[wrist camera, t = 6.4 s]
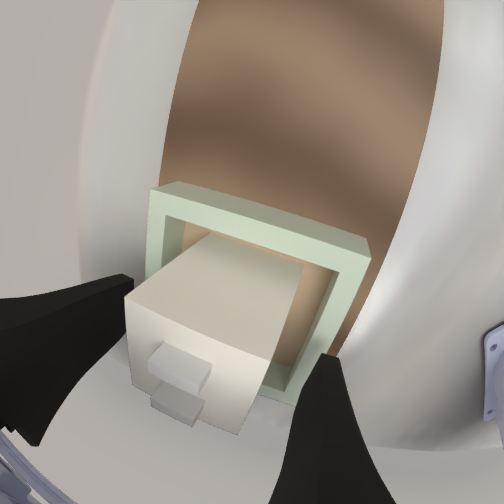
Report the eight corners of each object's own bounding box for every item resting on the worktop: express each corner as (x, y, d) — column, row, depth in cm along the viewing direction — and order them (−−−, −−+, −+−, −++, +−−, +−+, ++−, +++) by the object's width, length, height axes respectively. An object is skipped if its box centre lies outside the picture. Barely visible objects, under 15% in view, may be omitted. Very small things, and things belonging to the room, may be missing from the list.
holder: (302, 377, 13) (295, 406, 12) (165, 324, 15) (145, 344, 13) (366, 238, 10) (371, 258, 8) (178, 181, 12) (150, 189, 10)
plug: (276, 338, 13) (229, 454, 7) (198, 308, 13) (120, 399, 8) (304, 264, 11) (260, 386, 5) (211, 232, 12) (105, 311, 6)
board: (319, 375, 14) (316, 388, 13) (159, 314, 16) (150, 322, 15) (438, 3, 6) (444, -6, 5) (224, -36, 8) (216, -45, 7)
